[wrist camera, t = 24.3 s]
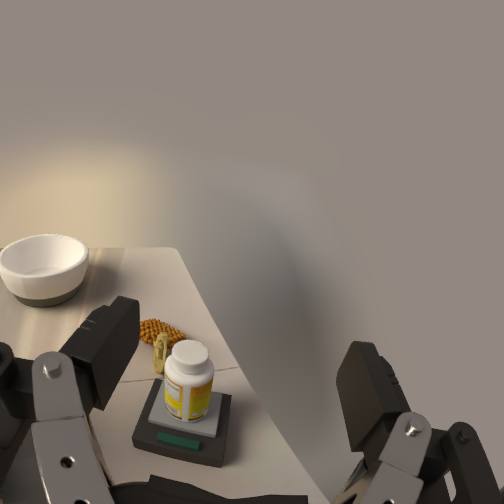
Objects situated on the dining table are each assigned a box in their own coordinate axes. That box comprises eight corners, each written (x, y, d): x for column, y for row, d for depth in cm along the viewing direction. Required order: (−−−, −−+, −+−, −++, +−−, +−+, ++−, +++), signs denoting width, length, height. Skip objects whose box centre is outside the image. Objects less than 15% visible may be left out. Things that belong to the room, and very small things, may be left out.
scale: (229, 405, 38) (232, 391, 37) (220, 468, 28) (223, 457, 27) (156, 389, 38) (155, 374, 37) (133, 447, 27) (130, 434, 26)
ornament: (131, 299, 49) (133, 338, 36) (185, 310, 54) (204, 350, 40) (124, 331, 50) (126, 377, 36) (176, 341, 54) (193, 386, 41)
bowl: (99, 268, 66) (98, 237, 63) (77, 321, 46) (72, 282, 43) (25, 260, 59) (22, 231, 56) (-12, 307, 39) (-21, 270, 36)
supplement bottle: (210, 396, 35) (220, 340, 32) (204, 428, 30) (213, 374, 26) (170, 387, 35) (172, 330, 31) (160, 418, 30) (158, 362, 26)
